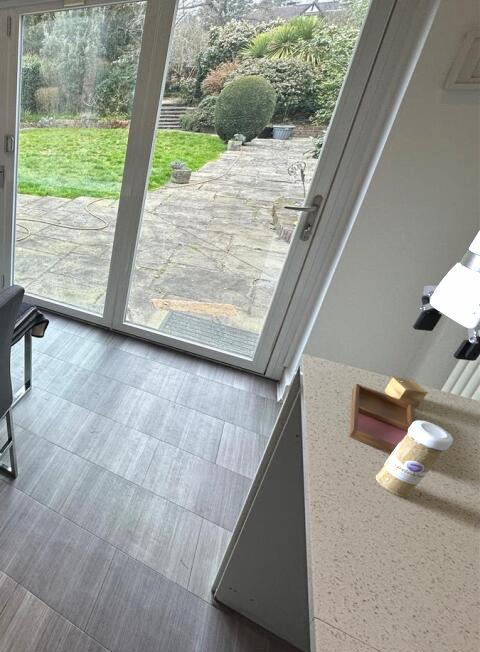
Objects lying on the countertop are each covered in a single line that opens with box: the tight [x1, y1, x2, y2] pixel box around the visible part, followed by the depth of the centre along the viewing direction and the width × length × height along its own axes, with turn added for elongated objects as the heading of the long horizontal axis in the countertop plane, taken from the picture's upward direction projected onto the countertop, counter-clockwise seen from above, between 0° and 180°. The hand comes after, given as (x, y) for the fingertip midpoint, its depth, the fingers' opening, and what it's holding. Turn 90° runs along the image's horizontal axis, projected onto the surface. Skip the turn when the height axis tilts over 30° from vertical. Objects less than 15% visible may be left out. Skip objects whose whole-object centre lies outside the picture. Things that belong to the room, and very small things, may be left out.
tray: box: [348, 383, 416, 455], centre depth 83 cm, size 9×18×2 cm, turn 138°
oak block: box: [383, 376, 428, 407], centre depth 89 cm, size 4×4×4 cm
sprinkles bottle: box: [375, 420, 454, 498], centre depth 68 cm, size 5×5×14 cm
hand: (441, 343), depth 80 cm, fingers open, 9 cm apart
